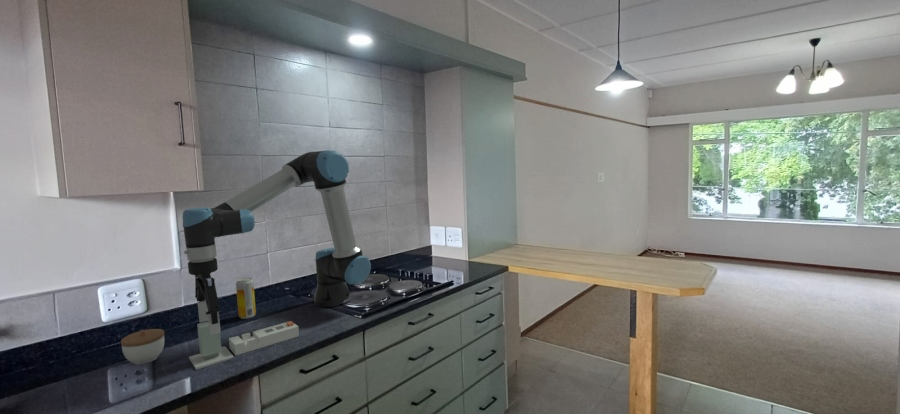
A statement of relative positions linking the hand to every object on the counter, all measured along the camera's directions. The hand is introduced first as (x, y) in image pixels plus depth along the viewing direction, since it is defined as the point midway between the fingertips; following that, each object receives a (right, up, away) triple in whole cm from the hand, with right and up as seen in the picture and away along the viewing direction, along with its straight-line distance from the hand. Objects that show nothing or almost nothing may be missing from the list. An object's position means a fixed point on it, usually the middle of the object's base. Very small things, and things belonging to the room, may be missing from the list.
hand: (209, 327), depth 125 cm
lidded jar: (-21, -11, +1) cm, 23 cm away
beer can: (-6, -7, +36) cm, 37 cm away
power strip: (+12, -8, +11) cm, 18 cm away
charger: (0, -9, +1) cm, 9 cm away
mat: (0, -10, +1) cm, 10 cm away
